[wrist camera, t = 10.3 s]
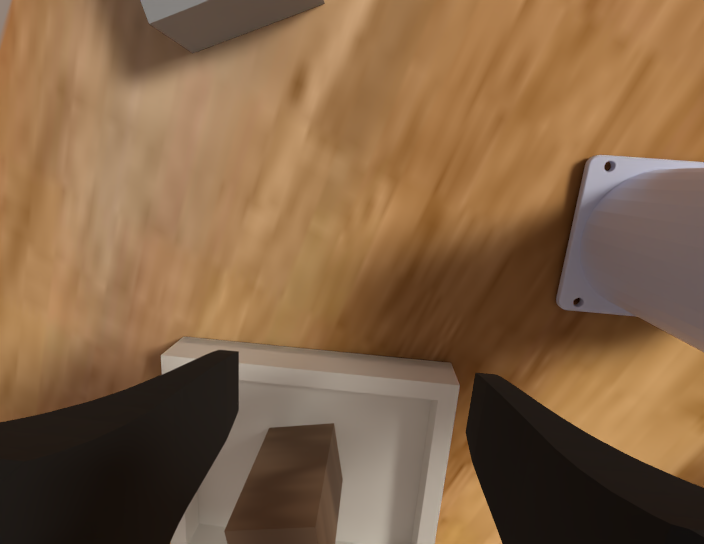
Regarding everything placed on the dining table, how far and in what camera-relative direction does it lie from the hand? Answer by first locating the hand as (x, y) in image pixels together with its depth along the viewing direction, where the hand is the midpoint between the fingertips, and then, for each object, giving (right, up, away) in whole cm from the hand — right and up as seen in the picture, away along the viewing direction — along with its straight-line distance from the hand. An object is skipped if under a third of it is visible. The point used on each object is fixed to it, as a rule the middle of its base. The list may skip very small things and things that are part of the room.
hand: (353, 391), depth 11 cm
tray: (-3, -8, +13) cm, 15 cm away
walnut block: (-3, -8, +12) cm, 14 cm away
